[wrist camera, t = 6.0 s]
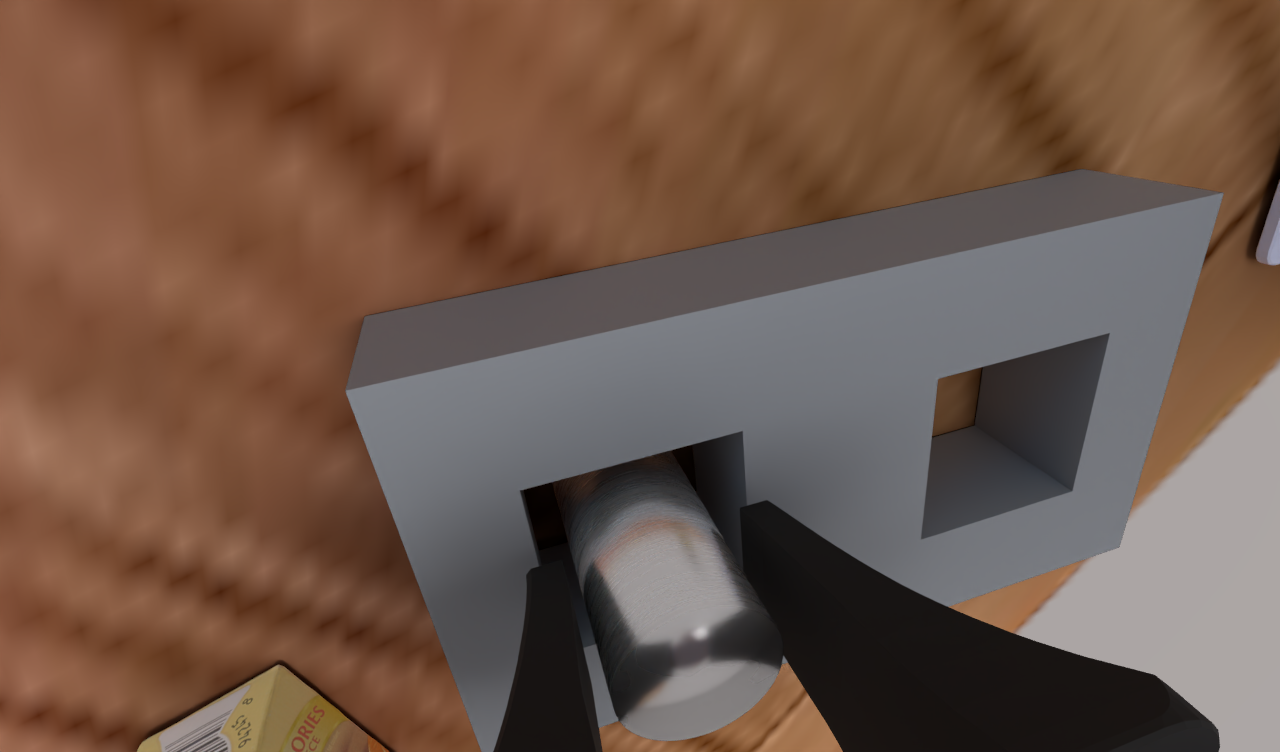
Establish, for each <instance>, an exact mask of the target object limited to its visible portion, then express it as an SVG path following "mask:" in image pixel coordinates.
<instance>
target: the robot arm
mask: <svg viewBox="0 0 1280 752" xmlns="http://www.w3.org/2000/svg"><path fill="white" fill-rule="evenodd" d="M1256 258H1257V260H1258V261H1259V262H1260V263H1264V264H1268V265H1278V264H1280V180H1279V183H1278V186H1277V189H1276V192H1275V195H1274V198H1273V201H1272V204H1271V207H1270V210H1269V213H1268V216H1267V219H1266V222H1265V225H1264V228H1263V231H1262V234H1261V237H1260V240H1259V243H1258V246H1257V249H1256ZM740 523H741V540H742V557H743V572H744V574H745V575H746V577H747V579H748V580H749V582H750V584H751V585H752V587H753V589H754V590H755V592H756V594H757V595H758V597H759V599H760V600H761V602H762V604H763V605H764V607H765V609H766V610H767V612H768V614H769V615H770V617H771V619H772V620H773V622H774V624H775V625H776V627H777V629H778V631H779V632H780V634H781V637H782V641H783V648H784V652H783V655H784V657H785V659H786V660H787V662H788V663H789V665H790V666H791V668H792V670H793V671H794V673H795V674H796V676H797V677H798V679H799V681H800V682H801V684H802V685H803V687H804V688H805V690H806V691H807V693H808V695H809V696H810V698H811V699H812V701H813V702H814V704H815V705H816V707H817V709H818V710H819V712H820V713H821V715H822V716H823V718H824V720H825V721H826V723H827V724H828V726H829V728H830V729H831V731H832V733H833V735H834V736H835V738H836V740H837V741H838V743H839V745H840V747H841V749H842V751H843V752H1218V751H1219V748H1220V744H1219V733H1218V729H1217V728H1216V727H1215V726H1214V724H1212V722H1211V721H1209V720H1208V719H1207V718H1206V717H1205V716H1204V715H1202V714H1201V713H1200V712H1199V711H1198V710H1197V709H1195V708H1194V707H1193V706H1192V705H1191V704H1190V703H1188V702H1187V701H1186V700H1185V699H1184V698H1183V697H1181V696H1180V695H1179V694H1178V693H1177V692H1175V691H1174V690H1173V689H1172V688H1171V687H1169V686H1168V685H1167V684H1166V683H1164V682H1163V681H1162V680H1160V679H1159V678H1158V677H1157V676H1155V675H1153V674H1149V673H1145V672H1141V671H1137V670H1134V669H1130V668H1126V667H1122V666H1118V665H1114V664H1111V663H1107V662H1103V661H1099V660H1095V659H1091V658H1087V657H1084V656H1080V655H1077V654H1074V653H1071V652H1067V651H1064V650H1061V649H1058V648H1055V647H1052V646H1049V645H1046V644H1042V643H1039V642H1036V641H1033V640H1031V639H1028V638H1025V637H1022V636H1019V635H1016V634H1013V633H1011V632H1008V631H1005V630H1003V629H1000V628H998V627H995V626H993V625H990V624H988V623H985V622H982V621H980V620H977V619H975V618H972V617H970V616H968V615H965V614H963V613H960V612H958V611H956V610H954V609H951V608H949V607H947V606H945V605H943V604H941V603H938V602H936V601H934V600H932V599H930V598H928V597H926V596H924V595H921V594H919V593H917V592H915V591H913V590H911V589H909V588H907V587H905V586H904V585H902V584H900V583H898V582H896V581H894V580H893V579H891V578H889V577H887V576H885V575H883V574H882V573H880V572H878V571H876V570H874V569H873V568H871V567H869V566H868V565H866V564H864V563H863V562H861V561H859V560H858V559H856V558H855V557H853V556H851V555H850V554H848V553H847V552H845V551H843V550H842V549H840V548H839V547H837V546H835V545H834V544H832V543H831V542H829V541H828V540H826V539H825V538H823V537H821V536H820V535H818V534H817V533H816V532H814V531H813V530H811V529H810V528H808V527H807V526H805V525H804V524H802V523H801V522H799V521H798V520H796V519H795V518H793V517H792V516H790V515H789V514H788V513H786V512H785V511H783V510H782V509H780V508H779V507H777V506H776V505H774V504H773V503H771V502H770V501H768V500H765V501H761V502H758V503H755V504H751V505H748V506H744V507H741V508H740ZM526 582H527V594H526V609H525V618H524V626H523V633H522V638H521V644H520V650H519V655H518V661H517V666H516V671H515V675H514V679H513V683H512V687H511V691H510V695H509V699H508V704H507V708H506V711H505V715H504V718H503V722H502V725H501V729H500V732H499V735H498V739H497V742H496V745H495V748H494V751H493V752H602V746H601V739H600V733H599V727H598V720H597V714H596V708H595V701H594V695H593V689H592V683H591V679H590V674H589V670H588V666H587V661H586V657H585V653H584V648H583V644H582V640H581V635H580V631H579V627H578V622H577V618H576V614H575V609H574V605H573V601H572V596H571V592H570V588H569V584H568V580H567V577H566V573H565V569H564V566H563V562H562V560H559V561H556V562H552V563H549V564H545V565H542V566H539V567H535V568H532V569H530V570H529V572H528V573H527V574H526Z"/></svg>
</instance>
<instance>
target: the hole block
mask: <svg viewBox="0 0 1280 752" xmlns="http://www.w3.org/2000/svg"><path fill="white" fill-rule="evenodd" d="M1223 194H1224V193H1223V192H1217V191H1211V190H1205V189H1199V188H1193V187H1187V186H1181V185H1175V184H1169V183H1163V182H1157V181H1151V180H1145V179H1139V178H1133V177H1127V176H1121V175H1115V174H1109V173H1103V172H1097V171H1091V170H1085V169H1080V170H1075V171H1070V172H1065V173H1060V174H1055V175H1051V176H1046V177H1041V178H1036V179H1031V180H1026V181H1021V182H1017V183H1012V184H1007V185H1002V186H997V187H992V188H987V189H982V190H978V191H973V192H968V193H963V194H958V195H953V196H948V197H943V198H939V199H934V200H929V201H924V202H919V203H914V204H909V205H905V206H900V207H895V208H890V209H885V210H880V211H875V212H870V213H866V214H861V215H856V216H851V217H846V218H841V219H836V220H832V221H827V222H822V223H817V224H812V225H807V226H802V227H797V228H793V229H788V230H783V231H778V232H773V233H768V234H763V235H759V236H754V237H749V238H744V239H739V240H734V241H729V242H724V243H720V244H715V245H710V246H705V247H700V248H695V249H690V250H686V251H681V252H676V253H671V254H666V255H661V256H656V257H651V258H647V259H642V260H637V261H632V262H627V263H622V264H617V265H612V266H608V267H603V268H598V269H593V270H588V271H583V272H578V273H574V274H569V275H564V276H559V277H554V278H549V279H544V280H539V281H535V282H530V283H525V284H520V285H515V286H510V287H505V288H501V289H496V290H491V291H486V292H481V293H476V294H471V295H466V296H462V297H457V298H452V299H447V300H442V301H437V302H432V303H428V304H423V305H418V306H413V307H408V308H403V309H398V310H393V311H389V312H384V313H379V314H374V315H369V316H365V317H364V321H363V325H362V329H361V333H360V336H359V340H358V344H357V348H356V352H355V356H354V359H353V363H352V367H351V371H350V375H349V379H348V383H347V386H346V390H345V391H346V394H347V397H348V399H349V402H350V405H351V407H352V410H353V412H354V415H355V418H356V420H357V423H358V426H359V428H360V431H361V434H362V436H363V439H364V442H365V444H366V447H367V450H368V452H369V455H370V457H371V460H372V463H373V465H374V468H375V471H376V473H377V476H378V479H379V481H380V484H381V487H382V489H383V492H384V495H385V497H386V500H387V502H388V505H389V508H390V510H391V513H392V516H393V518H394V521H395V524H396V526H397V529H398V532H399V534H400V537H401V540H402V542H403V545H404V548H405V550H406V553H407V555H408V558H409V561H410V563H411V566H412V569H413V571H414V574H415V577H416V579H417V582H418V585H419V587H420V590H421V593H422V595H423V598H424V600H425V603H426V606H427V608H428V611H429V614H430V616H431V619H432V622H433V624H434V627H435V630H436V632H437V635H438V638H439V640H440V643H441V646H442V648H443V651H444V653H445V656H446V659H447V661H448V664H449V667H450V669H451V672H452V675H453V677H454V680H455V683H456V685H457V688H458V691H459V693H460V696H461V698H462V701H463V704H464V706H465V709H466V712H467V714H468V717H469V720H470V722H471V725H472V728H473V730H474V733H475V736H476V738H477V741H478V743H479V746H480V749H481V751H482V752H493V751H494V748H495V745H496V742H497V739H498V735H499V732H500V729H501V725H502V722H503V718H504V715H505V711H506V708H507V704H508V699H509V695H510V691H511V687H512V683H513V679H514V675H515V671H516V666H517V661H518V655H519V650H520V644H521V638H522V633H523V626H524V618H525V609H526V594H527V582H526V574H527V573H528V572H529V570H530V569H532V568H535V567H539V566H542V565H545V564H549V563H552V562H556V561H559V560H562V562H563V566H564V569H565V573H566V577H567V580H568V584H569V588H570V592H571V596H572V601H573V605H574V609H575V614H576V618H577V622H578V627H579V631H580V635H581V640H582V644H583V648H584V653H585V657H586V661H587V666H588V670H589V674H590V679H591V683H592V689H593V695H594V701H595V708H596V714H597V720H598V727H599V728H600V727H603V726H605V725H608V724H611V723H614V722H617V721H619V720H618V718H617V716H616V714H615V712H614V709H613V705H612V702H611V698H610V694H609V691H608V687H607V683H606V679H605V676H604V672H603V668H602V665H601V661H600V657H599V654H598V650H597V646H596V643H595V639H594V635H593V632H592V628H591V624H590V621H589V617H588V613H587V610H586V606H585V602H584V599H583V595H582V591H581V587H580V584H579V580H578V576H577V573H576V569H575V565H574V562H573V558H572V554H571V551H570V547H569V543H568V542H567V543H564V544H560V545H557V546H553V547H550V548H546V549H543V550H539V549H538V545H537V542H536V538H535V534H534V530H533V526H532V522H531V518H530V514H529V510H528V506H527V502H526V498H525V494H524V489H528V488H531V487H535V486H539V485H543V484H546V483H550V482H554V481H558V480H561V479H565V478H569V477H573V476H576V475H580V474H584V473H588V472H591V471H595V470H599V469H603V468H606V467H610V466H614V465H618V464H621V463H625V462H629V461H632V460H636V459H640V458H644V457H647V456H651V455H655V454H659V453H662V452H666V451H670V450H674V449H677V448H681V447H685V446H689V445H692V448H693V458H694V468H695V478H696V489H697V495H698V497H699V498H700V500H701V502H702V503H703V505H704V507H705V508H706V510H707V512H708V513H709V515H710V517H711V518H712V520H713V522H714V523H715V525H716V527H717V528H718V530H719V532H720V533H721V535H722V537H723V538H724V540H725V542H726V543H727V545H728V547H729V548H730V550H731V552H732V553H733V555H734V557H735V558H736V560H737V562H738V564H739V565H740V567H741V569H742V570H743V557H742V540H741V523H740V508H741V507H744V506H748V505H751V504H755V503H758V502H761V501H765V500H768V501H770V502H771V503H773V504H774V505H776V506H777V507H779V508H780V509H782V510H783V511H785V512H786V513H788V514H789V515H790V516H792V517H793V518H795V519H796V520H798V521H799V522H801V523H802V524H804V525H805V526H807V527H808V528H810V529H811V530H813V531H814V532H816V533H817V534H818V535H820V536H821V537H823V538H825V539H826V540H828V541H829V542H831V543H832V544H834V545H835V546H837V547H839V548H840V549H842V550H843V551H845V552H847V553H848V554H850V555H851V556H853V557H855V558H856V559H858V560H859V561H861V562H863V563H864V564H866V565H868V566H869V567H871V568H873V569H874V570H876V571H878V572H880V573H882V574H883V575H885V576H887V577H889V578H891V579H893V580H894V581H896V582H898V583H900V584H902V585H904V586H905V587H907V588H909V589H911V590H913V591H915V592H917V593H919V594H921V595H924V596H926V597H928V598H930V599H932V600H934V601H936V602H938V603H941V604H943V605H945V606H947V607H949V606H952V605H954V604H957V603H960V602H963V601H966V600H969V599H972V598H975V597H977V596H980V595H983V594H986V593H989V592H992V591H995V590H998V589H1001V588H1003V587H1006V586H1009V585H1012V584H1015V583H1018V582H1021V581H1024V580H1027V579H1029V578H1032V577H1035V576H1038V575H1041V574H1044V573H1047V572H1050V571H1052V570H1055V569H1058V568H1061V567H1064V566H1067V565H1070V564H1073V563H1076V562H1078V561H1081V560H1084V559H1087V558H1090V557H1093V556H1096V555H1099V554H1102V553H1104V552H1107V551H1110V550H1113V549H1116V548H1119V547H1120V543H1121V540H1122V536H1123V533H1124V530H1125V527H1126V523H1127V520H1128V516H1129V513H1130V510H1131V506H1132V503H1133V499H1134V496H1135V493H1136V489H1137V486H1138V482H1139V479H1140V476H1141V472H1142V469H1143V466H1144V462H1145V459H1146V455H1147V452H1148V449H1149V445H1150V442H1151V438H1152V435H1153V432H1154V428H1155V425H1156V421H1157V418H1158V415H1159V411H1160V408H1161V404H1162V401H1163V398H1164V394H1165V391H1166V387H1167V384H1168V381H1169V377H1170V374H1171V370H1172V367H1173V364H1174V360H1175V357H1176V353H1177V350H1178V347H1179V343H1180V340H1181V336H1182V333H1183V330H1184V326H1185V323H1186V319H1187V316H1188V313H1189V309H1190V306H1191V303H1192V299H1193V296H1194V292H1195V289H1196V286H1197V282H1198V279H1199V275H1200V272H1201V269H1202V265H1203V262H1204V258H1205V255H1206V252H1207V248H1208V245H1209V241H1210V238H1211V235H1212V231H1213V228H1214V224H1215V221H1216V218H1217V214H1218V211H1219V207H1220V204H1221V201H1222V197H1223ZM980 367H983V371H982V378H981V385H980V392H979V399H978V406H977V413H976V420H975V426H971V427H968V428H964V429H961V430H957V431H954V432H950V433H947V434H943V435H940V436H936V437H933V438H932V430H933V421H934V412H935V402H936V393H937V384H938V379H939V378H943V377H947V376H950V375H954V374H958V373H962V372H965V371H969V370H973V369H977V368H980ZM784 663H787V660H786V659H785V657H784V655H783V660H782V664H784Z"/></svg>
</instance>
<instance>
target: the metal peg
mask: <svg viewBox="0 0 1280 752" xmlns="http://www.w3.org/2000/svg"><path fill="white" fill-rule="evenodd" d="M552 484H553V488H554V492H555V495H556V499H557V503H558V507H559V510H560V514H561V518H562V521H563V525H564V529H565V532H566V536H567V540H568V543H569V547H570V551H571V554H572V558H573V562H574V565H575V569H576V573H577V576H578V580H579V584H580V587H581V591H582V595H583V599H584V602H585V606H586V610H587V613H588V617H589V621H590V624H591V628H592V632H593V635H594V639H595V643H596V646H597V650H598V654H599V657H600V661H601V665H602V668H603V672H604V676H605V679H606V683H607V687H608V691H609V694H610V698H611V702H612V705H613V709H614V712H615V714H616V716H617V718H618V720H619V721H620V722H621V723H622V725H623V726H624V727H625V728H627V729H628V730H629V731H631V732H633V733H634V734H636V735H638V736H641V737H644V738H647V739H652V740H660V741H677V740H685V739H690V738H694V737H698V736H701V735H705V734H708V733H710V732H713V731H715V730H718V729H720V728H722V727H724V726H726V725H728V724H729V723H731V722H733V721H734V720H736V719H738V718H739V717H741V716H742V715H743V714H745V713H746V712H747V711H749V710H750V709H751V708H752V707H753V706H754V705H755V704H756V703H757V702H758V701H759V700H760V699H761V698H762V697H763V696H764V695H765V694H766V693H767V691H768V690H769V689H770V687H771V686H772V684H773V683H774V681H775V679H776V677H777V675H778V673H779V670H780V668H781V665H782V660H783V652H784V648H783V641H782V637H781V634H780V632H779V631H778V629H777V627H776V625H775V624H774V622H773V620H772V619H771V617H770V615H769V614H768V612H767V610H766V609H765V607H764V605H763V604H762V602H761V600H760V599H759V597H758V595H757V594H756V592H755V590H754V589H753V587H752V585H751V584H750V582H749V580H748V579H747V577H746V575H745V574H744V572H743V570H742V569H741V567H740V565H739V564H738V562H737V560H736V558H735V557H734V555H733V553H732V552H731V550H730V548H729V547H728V545H727V543H726V542H725V540H724V538H723V537H722V535H721V533H720V532H719V530H718V528H717V527H716V525H715V523H714V522H713V520H712V518H711V517H710V515H709V513H708V512H707V510H706V508H705V507H704V505H703V503H702V502H701V500H700V498H699V497H698V495H697V493H696V492H695V490H694V488H693V487H692V485H691V483H690V482H689V480H688V478H687V477H686V475H685V473H684V472H683V470H682V468H681V466H680V465H679V463H678V461H677V460H676V458H675V456H674V455H673V453H672V451H671V450H670V451H666V452H662V453H659V454H655V455H651V456H647V457H644V458H640V459H636V460H632V461H629V462H625V463H621V464H618V465H614V466H610V467H606V468H603V469H599V470H595V471H591V472H588V473H584V474H580V475H576V476H573V477H569V478H565V479H561V480H558V481H554V482H552Z"/></svg>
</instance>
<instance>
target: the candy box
mask: <svg viewBox="0 0 1280 752" xmlns="http://www.w3.org/2000/svg"><path fill="white" fill-rule="evenodd" d="M137 752H389V751H388V750H387V749H386V748H384V747H383V746H382V745H381V744H380V743H378V742H377V741H376V740H375V739H373V738H372V737H370V736H369V735H368V734H366V733H365V732H364V731H363V730H362V729H360V728H359V727H358V726H357V725H355V724H354V723H353V722H352V721H350V720H349V719H348V718H347V717H345V716H344V715H343V714H342V713H341V712H340V711H339V710H338V709H337V708H335V707H334V706H333V705H331V704H330V703H329V702H328V701H326V700H325V699H324V698H323V697H321V696H320V695H319V694H318V693H317V692H316V691H314V690H313V689H311V688H310V687H309V686H307V685H306V684H305V683H303V682H302V681H301V680H300V679H299V678H297V677H296V676H295V675H294V674H293V673H291V672H290V671H289V670H288V669H287V668H285V667H284V666H281V665H276V666H275V667H273V668H271V669H269V670H268V671H266V672H264V673H262V674H260V675H259V676H257V677H255V678H253V679H252V680H250V681H248V682H247V683H245V684H243V685H241V686H240V687H238V688H236V689H234V690H233V691H231V692H229V693H227V694H225V695H224V696H222V697H220V698H219V699H217V700H215V701H213V702H212V703H210V704H208V705H207V706H205V707H203V708H201V709H200V710H198V711H196V712H195V713H193V714H191V715H189V716H188V717H186V718H184V719H183V720H181V721H179V722H177V723H176V724H174V725H172V726H170V727H168V728H167V729H165V730H163V731H161V732H159V733H157V734H155V735H153V736H151V737H149V738H148V739H146V740H145V741H143V742H142V743H141V745H140V746H139V748H138V751H137Z"/></svg>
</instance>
